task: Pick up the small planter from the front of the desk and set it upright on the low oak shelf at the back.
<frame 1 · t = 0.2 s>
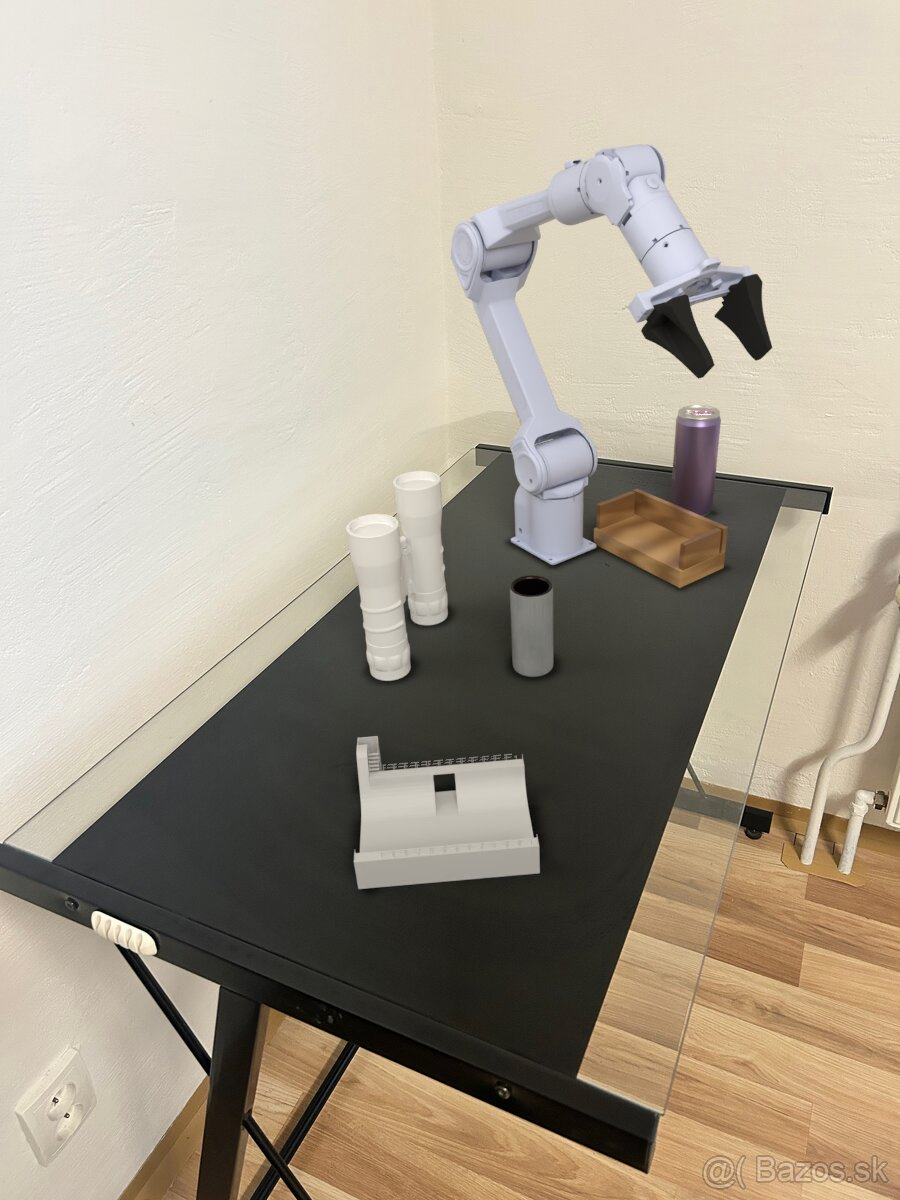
hand: (735, 363, 85), 31 cm above the table, tool tilted 45°, fingers open, 7 cm apart
binoculars: (410, 642, 104), on the table
beverage can: (690, 512, 129), on the table
shelf: (656, 555, 118), on the table
planter: (533, 666, 98), on the table
skate ramp: (445, 824, 78), on the table
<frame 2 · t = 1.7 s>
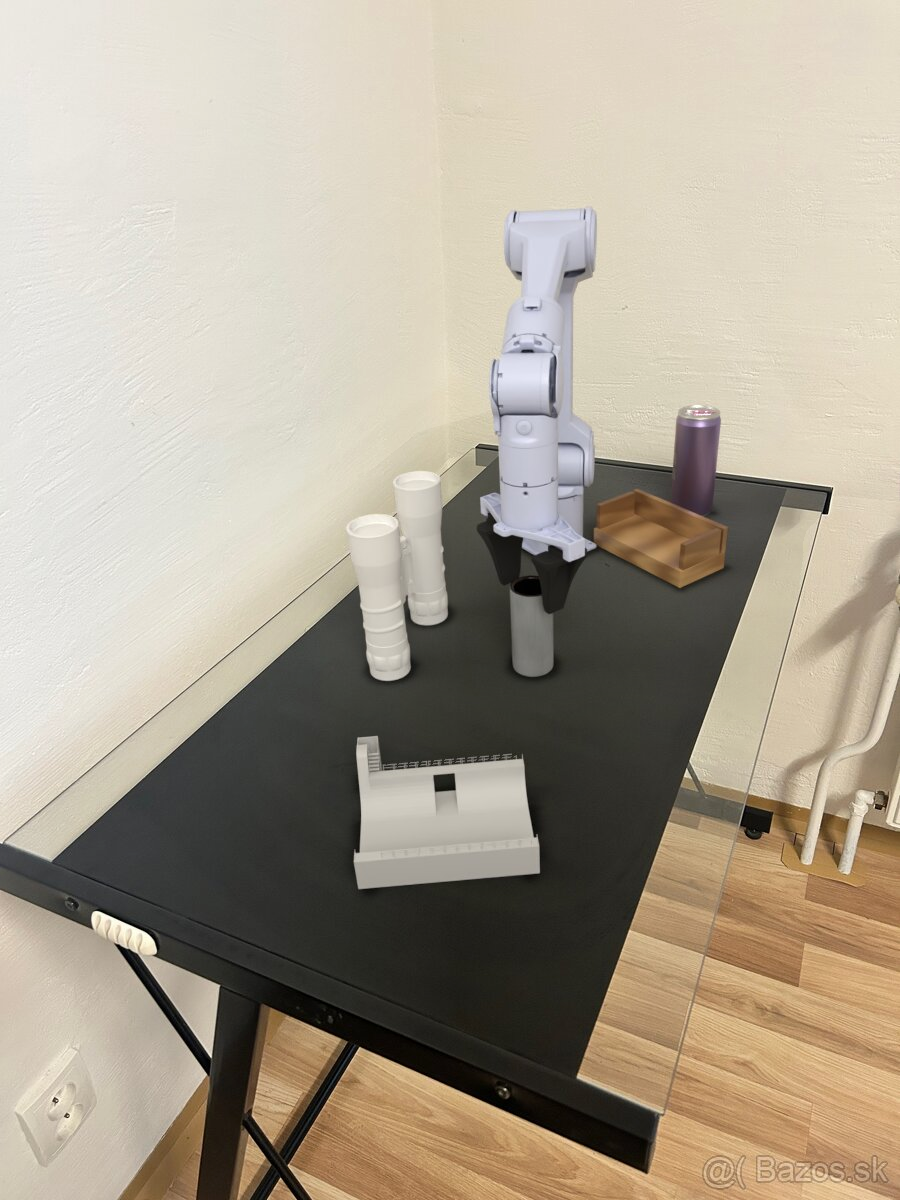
hand: (531, 595, 93), 9 cm above the table, tool pointing down, fingers open, 7 cm apart
nothing on the table moved.
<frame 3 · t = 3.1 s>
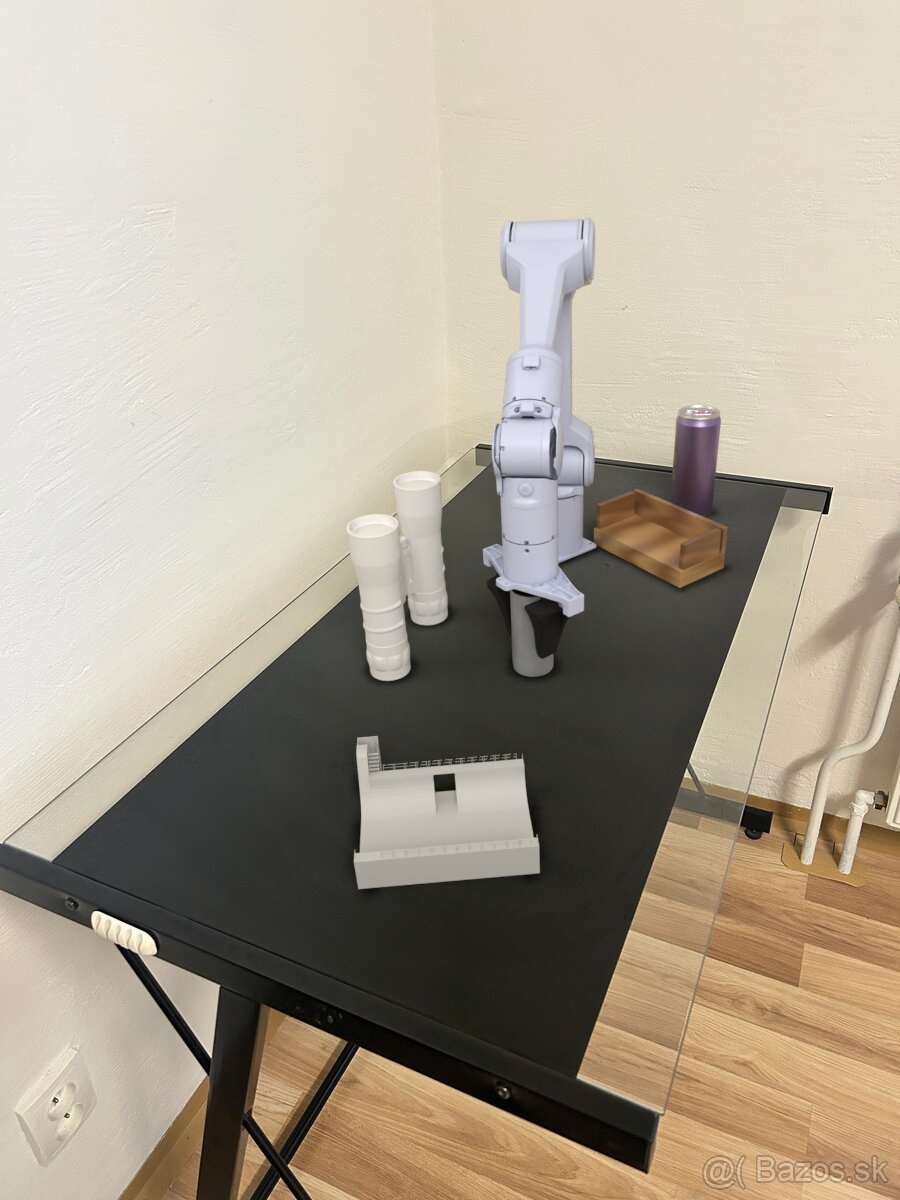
hand: (532, 643, 96), 3 cm above the table, tool pointing down, fingers closed on planter, 4 cm apart
planter: (533, 667, 98), on the table, touching gripper
everything else where it was.
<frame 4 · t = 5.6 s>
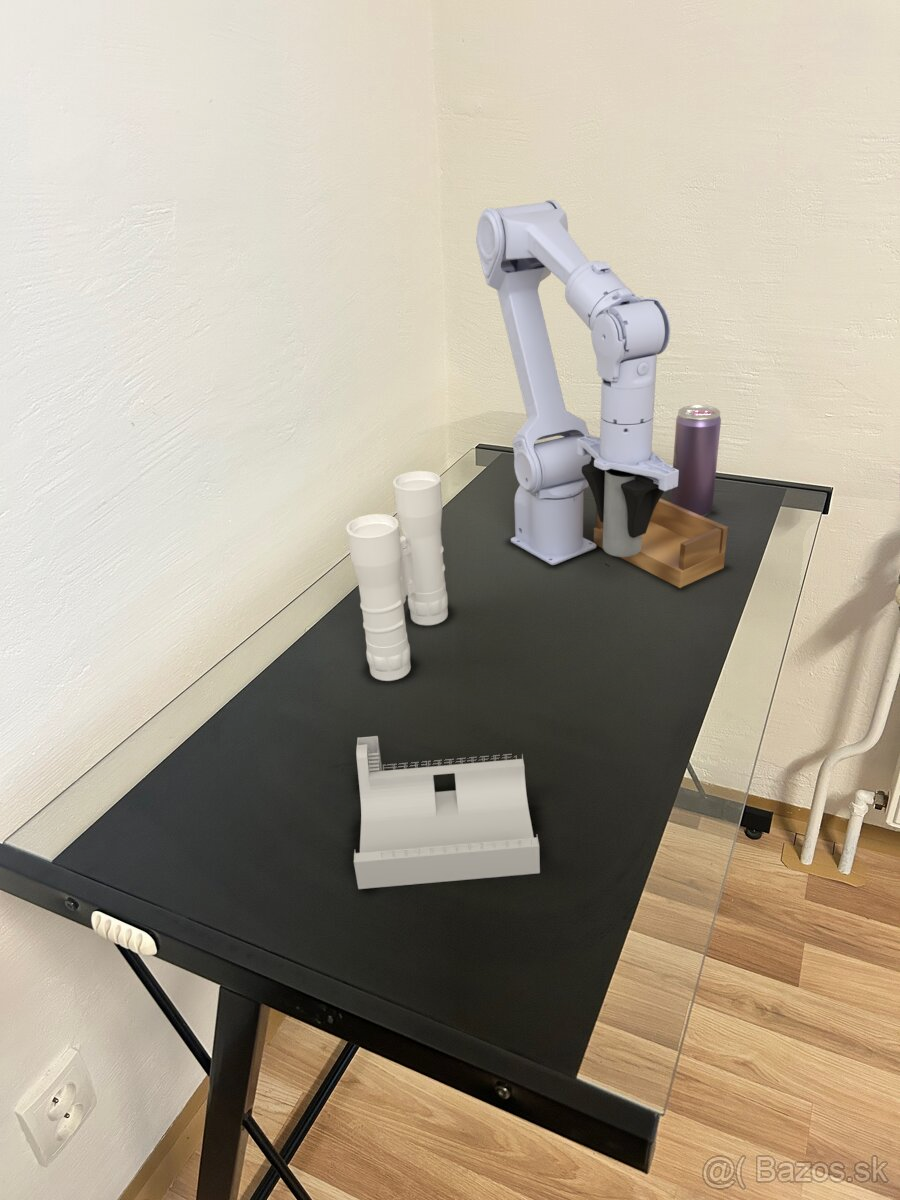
hand: (622, 526, 104), 10 cm above the table, tool pointing down, fingers closed on planter, 4 cm apart
planter: (621, 550, 105), point 7 cm above the table, touching gripper
everything else where it was.
when the fingers open (5 cm above the table, at t = 8.2 s): planter stays where it is, resting on shelf.
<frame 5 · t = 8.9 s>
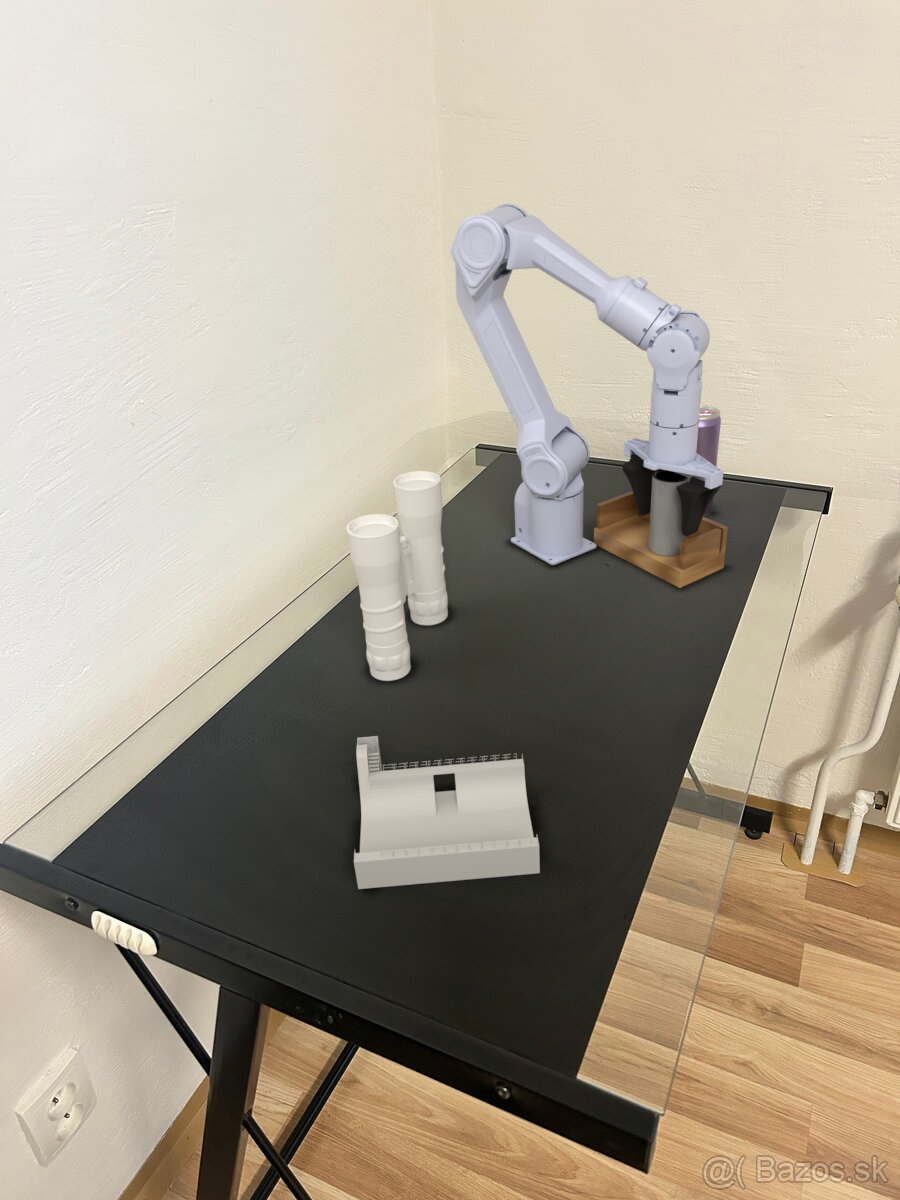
hand: (667, 522, 112), 6 cm above the table, tool pointing down, fingers open, 7 cm apart
planter: (666, 549, 114), point 2 cm above the table, touching shelf
everything else where it was.
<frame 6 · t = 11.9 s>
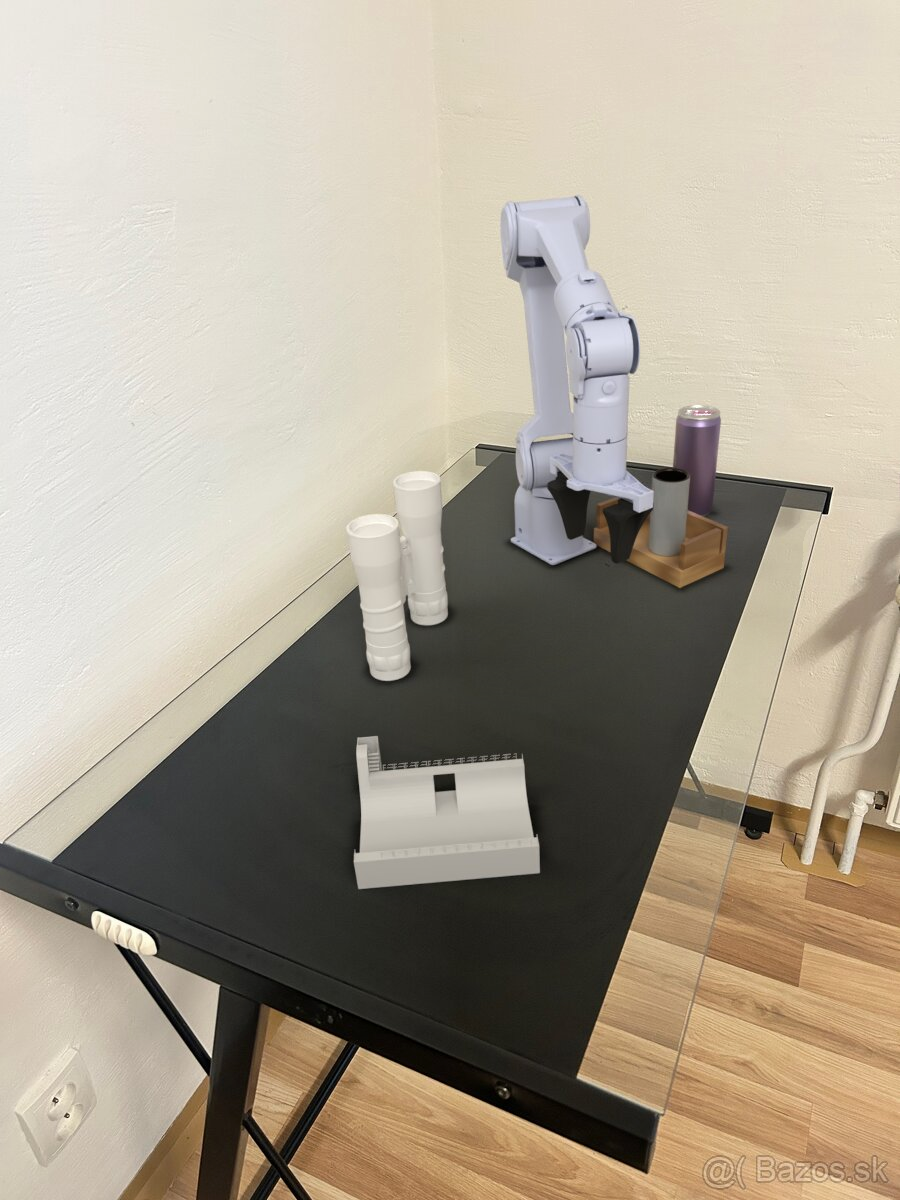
hand: (597, 548, 101), 9 cm above the table, tool pointing down, fingers open, 7 cm apart
nothing on the table moved.
at the end: planter inside the target area on the shelf (2.3 cm from its centre), point 2.2 cm above the shelf's base; planter tilted 0°; the gripper is holding nothing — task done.
